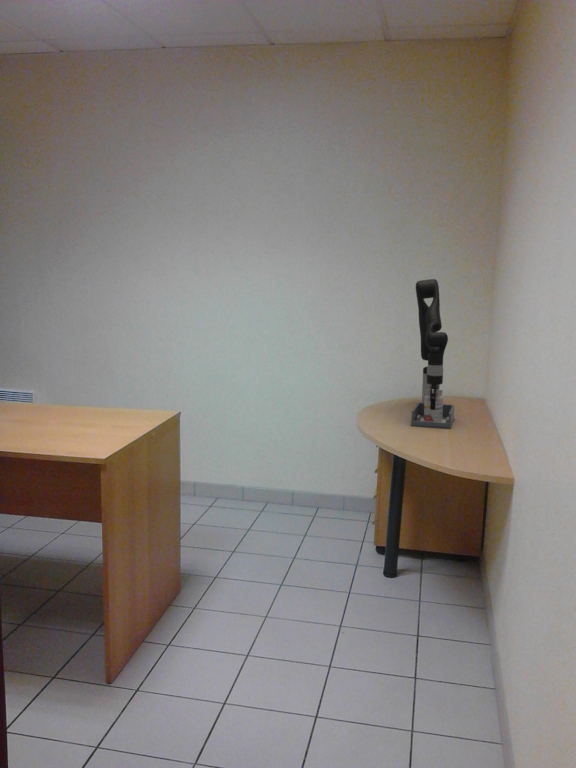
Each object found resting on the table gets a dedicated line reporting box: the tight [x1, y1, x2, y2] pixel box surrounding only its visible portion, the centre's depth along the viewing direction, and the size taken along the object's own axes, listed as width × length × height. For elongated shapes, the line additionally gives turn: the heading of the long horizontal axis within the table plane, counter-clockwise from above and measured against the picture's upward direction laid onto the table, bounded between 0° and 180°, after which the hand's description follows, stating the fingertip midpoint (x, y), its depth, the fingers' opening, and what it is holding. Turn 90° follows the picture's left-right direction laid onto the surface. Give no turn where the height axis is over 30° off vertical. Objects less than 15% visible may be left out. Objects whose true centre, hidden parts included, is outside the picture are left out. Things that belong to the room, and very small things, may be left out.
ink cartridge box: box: [424, 389, 444, 421], centre depth 313 cm, size 9×5×15 cm, turn 82°
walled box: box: [410, 402, 455, 430], centre depth 313 cm, size 22×18×7 cm
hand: (433, 408), depth 313 cm, fingers open, 6 cm apart
